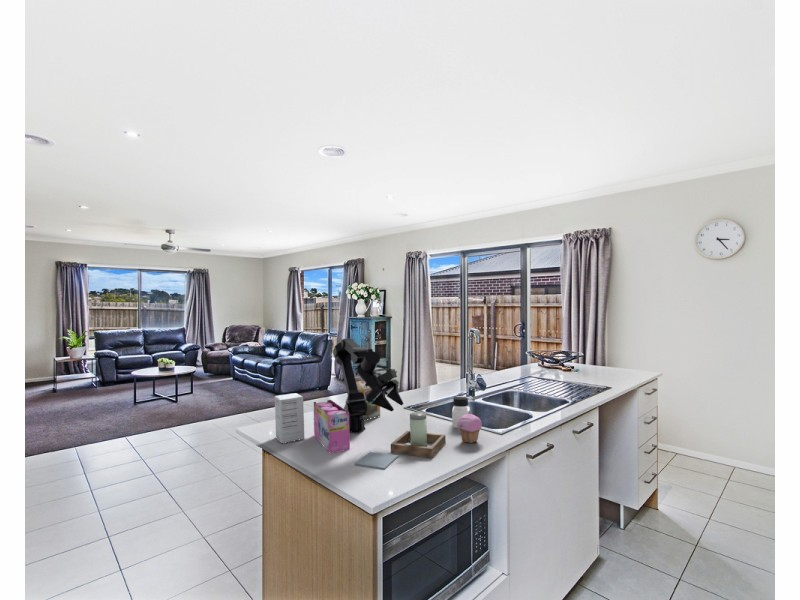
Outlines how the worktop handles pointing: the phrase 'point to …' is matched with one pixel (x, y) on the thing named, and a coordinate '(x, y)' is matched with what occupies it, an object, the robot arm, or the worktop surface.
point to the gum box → (332, 426)
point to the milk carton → (371, 408)
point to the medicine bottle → (459, 409)
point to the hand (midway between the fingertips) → (397, 407)
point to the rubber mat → (376, 460)
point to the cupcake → (469, 427)
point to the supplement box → (289, 417)
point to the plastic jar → (418, 429)
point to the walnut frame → (402, 448)
